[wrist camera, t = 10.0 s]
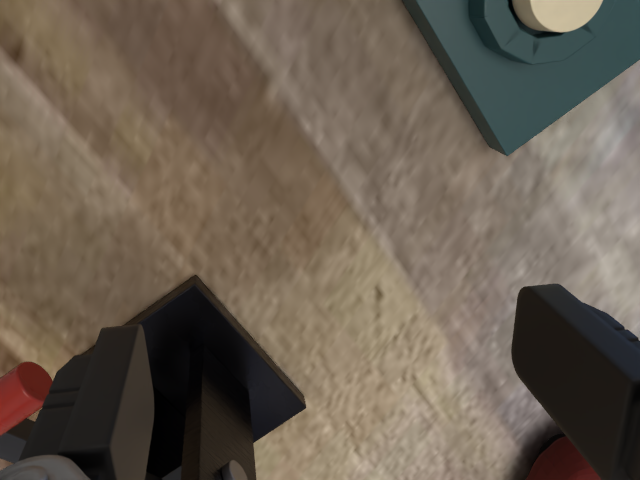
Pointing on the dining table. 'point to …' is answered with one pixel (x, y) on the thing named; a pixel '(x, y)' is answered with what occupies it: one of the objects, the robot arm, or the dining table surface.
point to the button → (555, 13)
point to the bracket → (209, 388)
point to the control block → (524, 61)
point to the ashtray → (561, 462)
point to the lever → (30, 410)
